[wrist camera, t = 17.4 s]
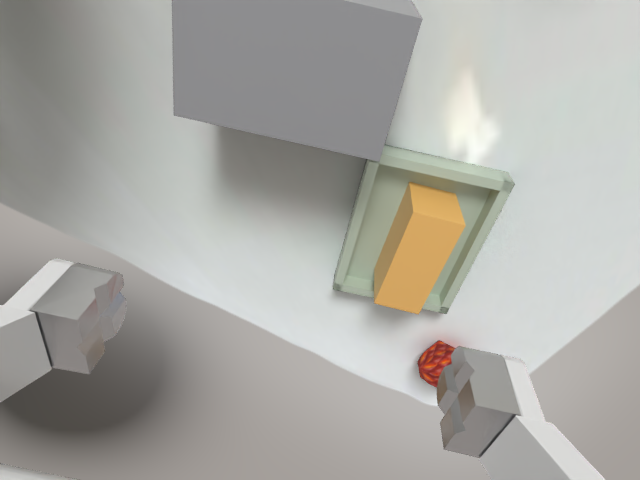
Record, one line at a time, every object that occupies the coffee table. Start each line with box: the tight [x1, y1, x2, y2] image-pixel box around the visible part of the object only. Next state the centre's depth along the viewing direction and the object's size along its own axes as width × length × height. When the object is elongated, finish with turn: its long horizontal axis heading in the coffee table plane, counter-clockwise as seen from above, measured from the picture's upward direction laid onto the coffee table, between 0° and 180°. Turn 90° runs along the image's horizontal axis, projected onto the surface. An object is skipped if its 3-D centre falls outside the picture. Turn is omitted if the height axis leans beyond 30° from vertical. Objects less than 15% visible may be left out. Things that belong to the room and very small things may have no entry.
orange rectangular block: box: [374, 182, 466, 314], centre depth 45 cm, size 5×13×6 cm, turn 167°
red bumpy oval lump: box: [418, 341, 456, 387], centre depth 56 cm, size 6×7×8 cm
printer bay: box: [172, 0, 422, 162], centre depth 33 cm, size 16×10×10 cm, turn 79°
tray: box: [333, 145, 515, 314], centre depth 46 cm, size 14×18×2 cm
